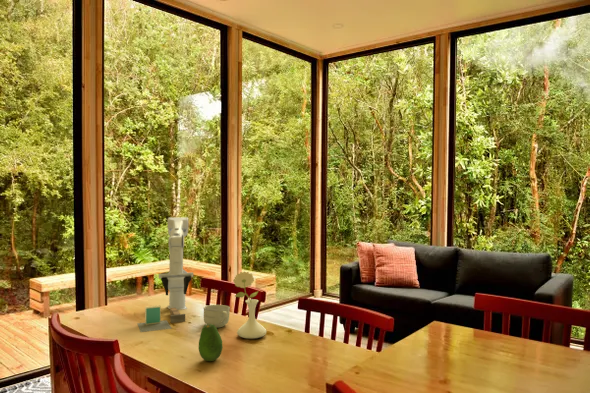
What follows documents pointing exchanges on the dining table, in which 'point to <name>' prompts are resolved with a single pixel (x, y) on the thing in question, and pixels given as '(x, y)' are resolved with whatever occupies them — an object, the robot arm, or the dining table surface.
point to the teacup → (216, 315)
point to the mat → (154, 326)
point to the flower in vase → (251, 326)
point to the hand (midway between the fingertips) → (176, 294)
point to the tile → (152, 314)
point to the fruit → (210, 343)
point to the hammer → (176, 316)
